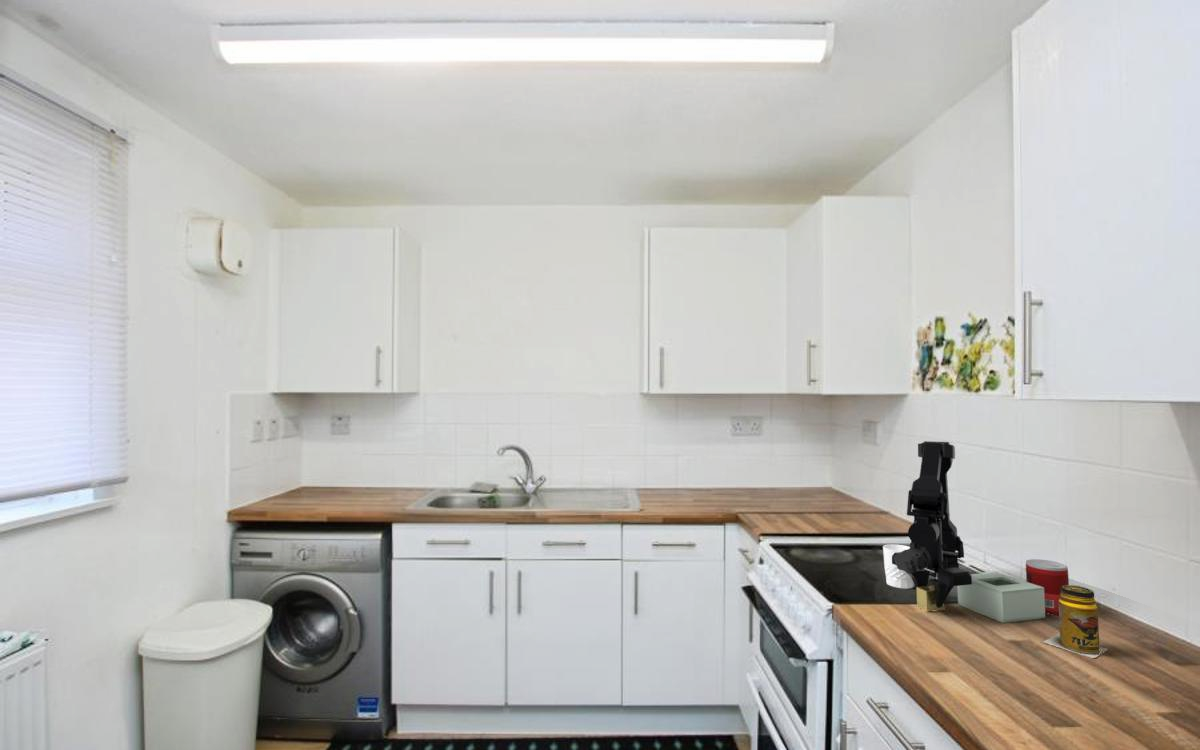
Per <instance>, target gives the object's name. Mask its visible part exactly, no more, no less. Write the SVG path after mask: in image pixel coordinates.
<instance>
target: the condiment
mask: <svg viewBox="0 0 1200 750" xmlns="http://www.w3.org/2000/svg"><path fill="white" fill-rule="evenodd" d="M1060 590H1061V593H1060V597H1061V598H1060V599H1059V615H1058V617H1059V633H1056V634H1054V635H1053V636H1052V637H1050V638H1048V639H1045V640H1044V641H1042V643H1044V644H1048V645H1049V646H1054V647H1057V648H1059V649H1062V650H1066V651H1069V652H1071V653H1075V654H1078V655H1080V656H1084V657H1087V658H1091V659H1095V658H1098V657H1100V656H1101V655H1103V654H1104V653H1105V652H1106V651H1108V650H1109V649H1108V648H1106V647H1102V646H1101V645H1100V630H1099V619H1098V618H1099V609H1098V606H1097V605H1096V604H1097V603H1096V599H1095V592H1094V591H1093V590H1092V589H1089V588H1087V587H1083V586H1080V585H1073V584H1069V585H1063V586H1061V588H1060ZM1099 650H1100V651H1101V655H1100V654H1099V653H1100V651H1099ZM1102 652H1103V653H1102ZM1080 653H1081V654H1080ZM1096 654H1097V655H1096Z"/></svg>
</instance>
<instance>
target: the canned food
mask: <svg viewBox="0 0 1200 750" xmlns="http://www.w3.org/2000/svg"><path fill="white" fill-rule="evenodd" d="M1025 578H1026V581H1025V582H1029V583H1032V584H1035V585H1038V586H1041V587H1044V597H1045V613H1049V614H1048V615H1051V614H1054V615H1053V616H1059V599H1060V598H1061V597H1060V593H1061V590H1060V588H1061V586H1063V585H1070V583H1069V582H1070V581H1069V569H1068V565H1066V564H1064V563H1061V562H1057V561H1054V560H1047V559H1036V558H1034V559H1033V558H1032V559H1027V560H1026V559H1025Z"/></svg>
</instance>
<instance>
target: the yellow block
mask: <svg viewBox="0 0 1200 750" xmlns="http://www.w3.org/2000/svg"><path fill="white" fill-rule="evenodd" d="M916 605H917V606H916V607H919V608H921V609H924V610H926V611H933V610H944V611H945V602H944V603H943V605H942V607H941V608H938V607H936V601H935V590H934V585H928V586H923V587H917V590H916ZM919 608H918V609H919ZM921 609H920V610H921Z"/></svg>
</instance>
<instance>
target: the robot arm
mask: <svg viewBox="0 0 1200 750" xmlns="http://www.w3.org/2000/svg"><path fill="white" fill-rule="evenodd" d="M955 448H956V447H955V445H954V444H951V443H950V442H949V441H934V440H933V441H931V440H929V441H928V440H927V441H926V440H924V441H923V442H921V443H917V457H918V458H921V465H920V470H919V477H918V478H917V479H915V480H913V481H912V485H911V489H909V490H908V493H907V494H908V497H907V507H906V508H907V509H906V516H910V517H913V521H912V524H911V525H910V526H909V527H908V530H907V535H908V538H909V540H910V543H909V547H910V549H908V550H904V551H902V552H897V553H894V554H893V556H892V564H894V565H897V568H898V569H899V570H903V571H905V572H906V573H907V574H908V575H910V576H911V578H912V580H913V582H914V588H915V590H916V591H917V587H923V586H929V581H930V583H931V584H932V586H934V590H935V601H936V607H938V608H941V607H942V605H943V603H944V604H945V601H946V600H947V598H948V596H949V595H950V593H951V591H952V589H954V587H957V586H961V585H971V584H972V576H971V574H972V573H970V572H969V571H967V570H964V569H962V568H960V567H959V566H960V564H959V559H961V558H965V551H964V541H962V539H961V536H960V535H959V536H958V527H956V525H955V524H954V523H953V522H952V520H951V518H950V516H951V515H950V503H949V500H950V499H949V486H948V485H949V484H948V472H949V471H950V469H951V468H952V465H953V460H955V459H956V449H955ZM930 575H931V576H932V577H935V578H930Z"/></svg>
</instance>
